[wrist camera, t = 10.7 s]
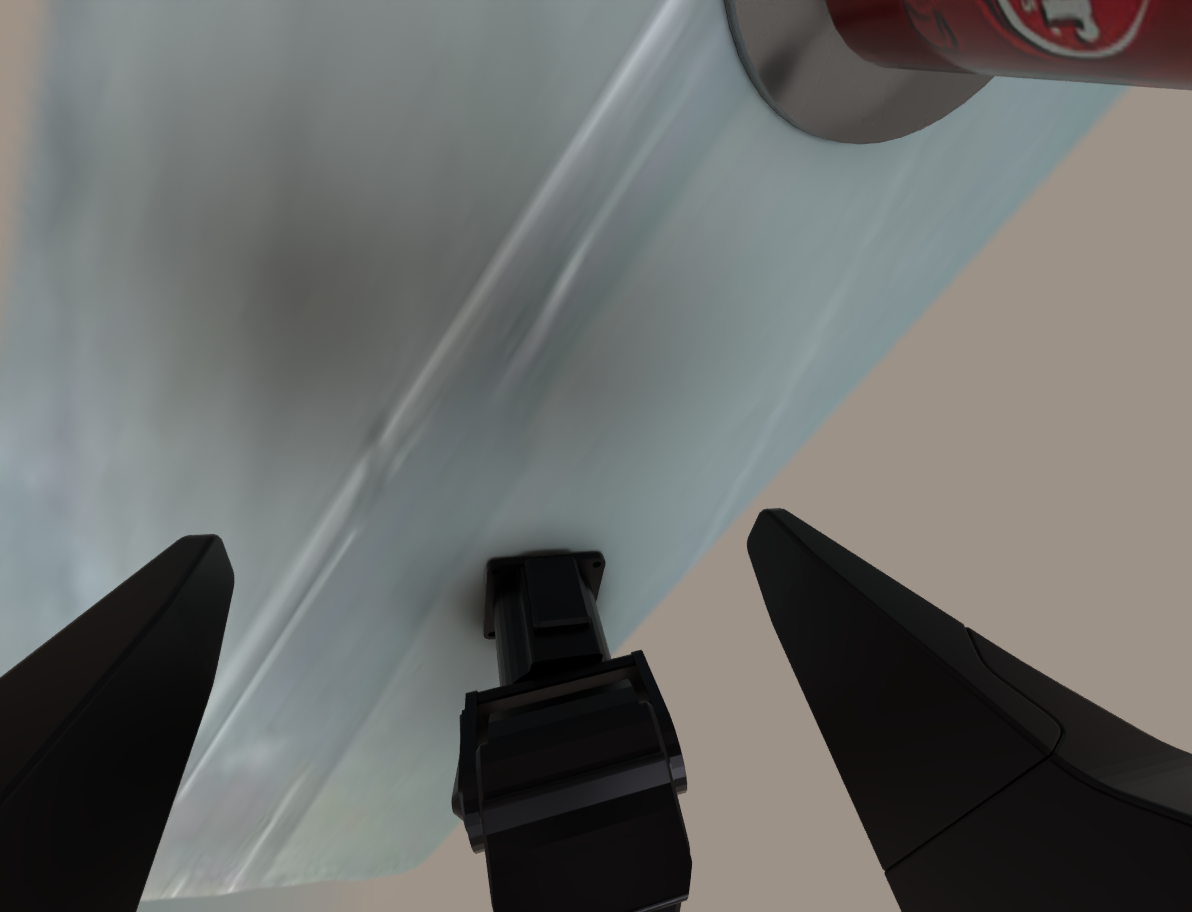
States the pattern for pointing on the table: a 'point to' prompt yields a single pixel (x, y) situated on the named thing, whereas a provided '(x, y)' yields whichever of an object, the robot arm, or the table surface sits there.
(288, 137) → the table surface
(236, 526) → the table surface
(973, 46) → the soda can
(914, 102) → the flange plate
